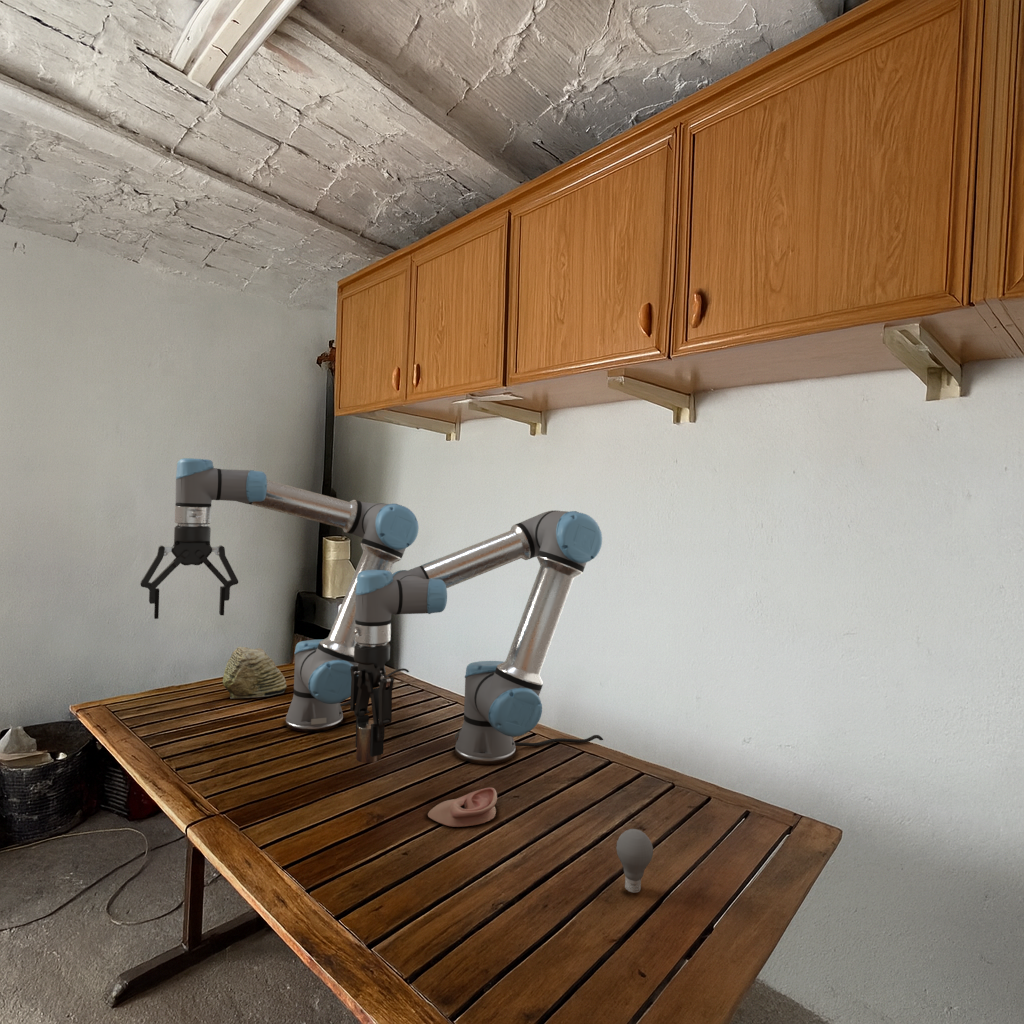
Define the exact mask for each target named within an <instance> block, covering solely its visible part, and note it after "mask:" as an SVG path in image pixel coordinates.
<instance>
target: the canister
mask: <svg viewBox="0 0 1024 1024" xmlns="http://www.w3.org/2000/svg"><path fill="white" fill-rule="evenodd" d="M371 724H374V721H373V719H369V720H366V721H362V722H359V723H358V724H357V748H356V747H355V749H356V750H355V751H356V753H355V754H356V755H355V760H356V761H357V762H359V763H363V764H371V763H376V762H379V761H381V759H382V754H381V755H377V756H374V757H371V756H370V747H371Z"/></svg>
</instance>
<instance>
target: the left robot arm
mask: <svg viewBox="0 0 1024 1024" xmlns="http://www.w3.org/2000/svg"><path fill="white" fill-rule="evenodd" d="M175 474H176V475H175V503H174V504H175V506H174V523H175V524H177V525H175V526H174V532H173V533H174V534H173V545H172V546H165V545H162V544H161V545H159V546H158V548H157V553H156V556H155V558H154V559H153V561H152V563H151V564H150V566H149V567H148V569H147V571H146V572H145V574H144V576H143V577H142V579H141V581H140V587H141V588H145V589H148V590H149V591H148V602H149V604H150V605H151V604H152V605H153V604H154V607H153V608H154V609H153V611H154V613H153V617H154V620H158V619H159V616H160V615H159V614H160V613H159V612H160V588H159V587H158V586H160V584H161V583H162V582H163V581H165V580H166V578H168V576H169V575H170V574H171V573H172V572H173V571H175V569H176V568H177V567H179V566H180V564H181V565H183V566H191V565H192V566H201V565H202V564H204V565H205V567H207V568H208V569H209V571H211V573H212V574H213V575H214V576H215V577H216V579H217V580H218V581H220V582H221V584H222V585H221V586H219V605H218V606H219V608H218V609H219V610H218V614H219V615H220V616H225V603H226V602H227V601H230V596H231V588H232V586H235V585H238V584H239V579H238V577H237V576H236V573H235V571H234V570H233V567H232V566H231V564H230V562H229V560H228V558H227V556H226V548H225V546H223V545H221V544H220V545H218V546H211V545H212V544H211V530H212V529H211V527H210V526H209V525H210V524H211V523H212V520H211V519H212V501H227V502H228V501H229V502H237V503H242V504H246V505H250V506H254V507H258V508H263V509H265V510H271V511H274V512H278V513H282V514H286V515H290V516H294V517H298V518H302V519H305V520H309V521H313V522H317V523H321V524H325V525H328V526H333V527H337V528H341V529H342V530H343V532H344V533H345V534H349V535H354V536H356V537H358V538H361V542H360V547H361V549H362V554H361V556H360V559H359V561H358V563H357V566H356V569H355V571H354V574H353V576H352V578H351V581H350V582H349V585H348V588H347V590H346V593H345V594H344V598H343V600H342V603H341V605H340V606H339V610H338V612H337V615H336V617H335V619H334V622H333V625H332V627H331V629H330V632H329V634H328V636H327V637H326V638H324V639H307V640H302V641H299V642H297V644H295V650H294V672H293V673H294V674H293V695H292V696H293V697H292V699H291V702H290V704H289V708H288V711H287V713H286V715H285V726H286V728H287V729H289V730H291V731H294V732H295V731H296V732H301V733H316V732H325V731H329V730H332V729H335V728H337V727H339V726H340V725H342V723H343V722H344V714H343V709H342V707H344V706H347V705H350V700H348V699H350V698H351V670H350V668H351V666H355V665H358V664H359V663H357V662H355V661H354V645H355V644H356V643H357V642H356V641H355V633H354V631H355V608H356V594H355V592H356V585H357V576H358V574H359V573H360V572H361V571H365V570H386V571H390V572H391V571H392V568H393V566H394V564H395V563H397V562H399V561H401V560H402V558H403V557H404V554H405V551H406V549H407V548H409V547H411V546H412V545H413V544H414V542H415V541H416V539H417V537H418V534H419V530H420V529H419V522H418V519H417V516H416V515H415V513H414V512H413V511H412V510H411V509H410V508H408V507H406V506H404V505H402V504H398V503H385V502H383V503H382V502H367V501H361V500H357V499H352V500H350V501H347V500H344V499H340V498H336V497H333V496H329V495H325V494H322V493H318V492H314V491H311V490H308V489H304V488H300V487H295V486H292V485H288V484H285V483H282V482H278V481H274V480H269V479H268V478H267V474H266V473H265V472H264V471H262V470H261V471H259V470H254V469H250V470H249V469H227V468H216V467H215V466H214V462H213V460H211V459H205V458H190V457H189V458H188V457H183V458H180V459H179V460H178V461H177V464H176V473H175ZM169 553H172V554H173V556H174V559H173V560H172V561H171V562H170V563H169V564H168V565H167V566H166V567H165V568H164V569H163V571H161V572H160V573H159V574H158V575H157V576H156V577H155V578H154V579H153V580H152V581H151V579H152V577H153V576H154V574H155V572H156V571H157V569H158V567H159V566H160V564H161V562H162V561H163V559H164V557H166V556H168V555H169ZM212 553H214V554H215V555H216V556H218V557H219V560H220V562H221V564H222V565H223V567H224V569H225V571H226V574H227V575H228V577H229V580H228V579H226V577H225V576H224V575H223V574H222V573H221V572H220V571H219V569H218V568H217V567H216V566H215V565H214V564H213V563H212V562H211V561H210V560H209V559H208V558H209V556H210V555H211V554H212ZM150 581H151V582H150ZM225 601H226V602H225ZM401 671H402V672H403V671H404V672H406V673H410V670H409V669H407V668H404V667H401V668H398V669H396V670H393V671H391V672H390V673H387V674H386V675H387V676H388V677H392V675H394V674H396V673H398V672H401ZM357 676H358V675H357ZM370 697H371V694H370ZM347 700H348V701H347ZM344 701H346V702H344ZM342 702H343V703H342Z"/></svg>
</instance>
